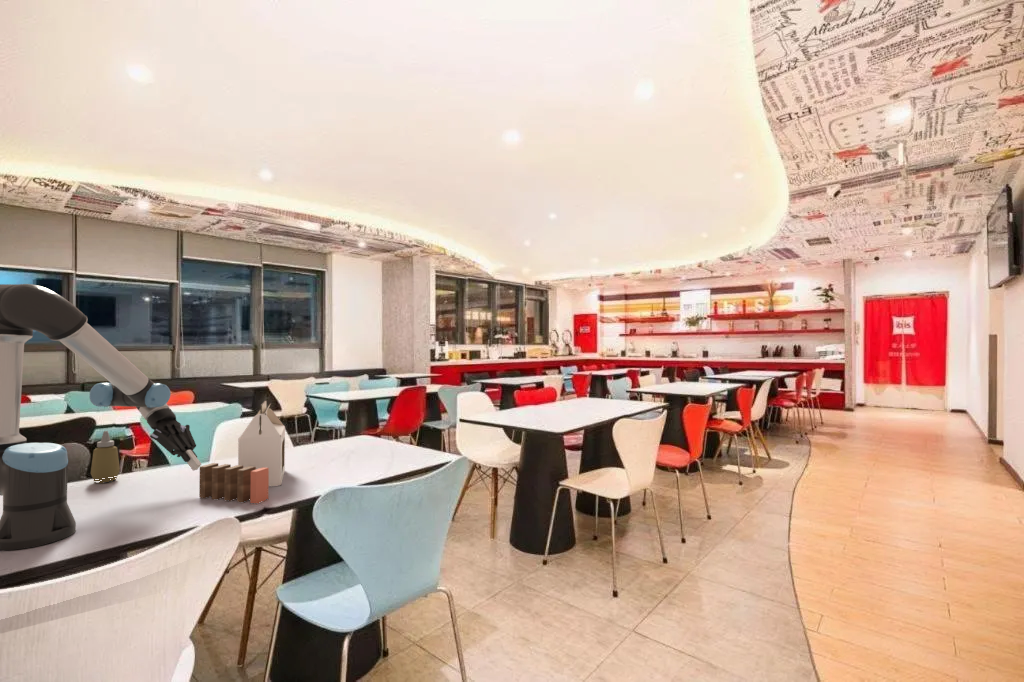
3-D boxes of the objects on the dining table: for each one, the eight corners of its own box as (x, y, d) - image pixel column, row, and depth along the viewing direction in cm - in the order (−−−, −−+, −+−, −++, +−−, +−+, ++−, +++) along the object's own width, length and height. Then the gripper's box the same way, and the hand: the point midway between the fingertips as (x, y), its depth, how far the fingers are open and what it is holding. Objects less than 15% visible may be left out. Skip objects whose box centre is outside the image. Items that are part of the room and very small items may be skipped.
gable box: (281, 486, 170) (281, 405, 170) (237, 490, 165) (238, 407, 165) (284, 470, 190) (285, 398, 190) (246, 473, 185) (247, 400, 185)
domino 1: (199, 497, 156) (199, 466, 156) (212, 493, 161) (213, 463, 161) (204, 498, 155) (205, 467, 156) (218, 493, 160) (218, 463, 160)
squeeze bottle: (123, 480, 175) (124, 430, 175) (95, 486, 168) (95, 434, 168) (114, 477, 179) (115, 428, 180) (86, 482, 173) (87, 431, 173)
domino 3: (224, 500, 153) (224, 468, 153) (237, 495, 158) (237, 465, 158) (230, 501, 153) (230, 469, 153) (242, 496, 158) (243, 465, 158)
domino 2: (211, 499, 155) (212, 467, 155) (224, 494, 159) (225, 464, 160) (217, 499, 154) (217, 468, 154) (230, 495, 159) (230, 464, 159)
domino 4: (237, 502, 152) (237, 470, 152) (249, 497, 157) (250, 466, 157) (243, 502, 151) (243, 470, 151) (255, 497, 156) (255, 466, 156)
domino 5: (250, 503, 151) (250, 471, 151) (262, 498, 155) (262, 467, 156) (256, 504, 150) (256, 471, 150) (268, 499, 155) (268, 467, 155)
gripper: (170, 419, 172) (207, 469, 167) (132, 425, 159) (172, 480, 155) (182, 404, 170) (220, 455, 166) (145, 409, 158) (185, 464, 153)
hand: (197, 467), depth 160 cm, fingers closed
